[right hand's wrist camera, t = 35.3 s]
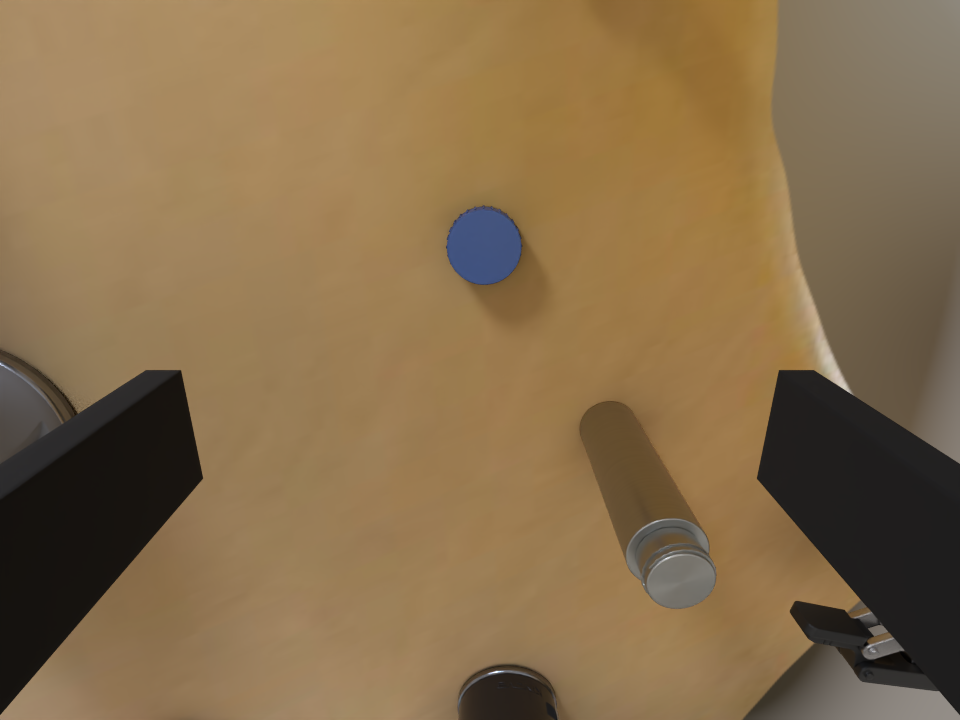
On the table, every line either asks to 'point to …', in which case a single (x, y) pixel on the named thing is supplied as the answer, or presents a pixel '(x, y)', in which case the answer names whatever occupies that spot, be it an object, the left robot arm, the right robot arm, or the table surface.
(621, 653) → the table surface
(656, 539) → the bottle
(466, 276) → the lid
